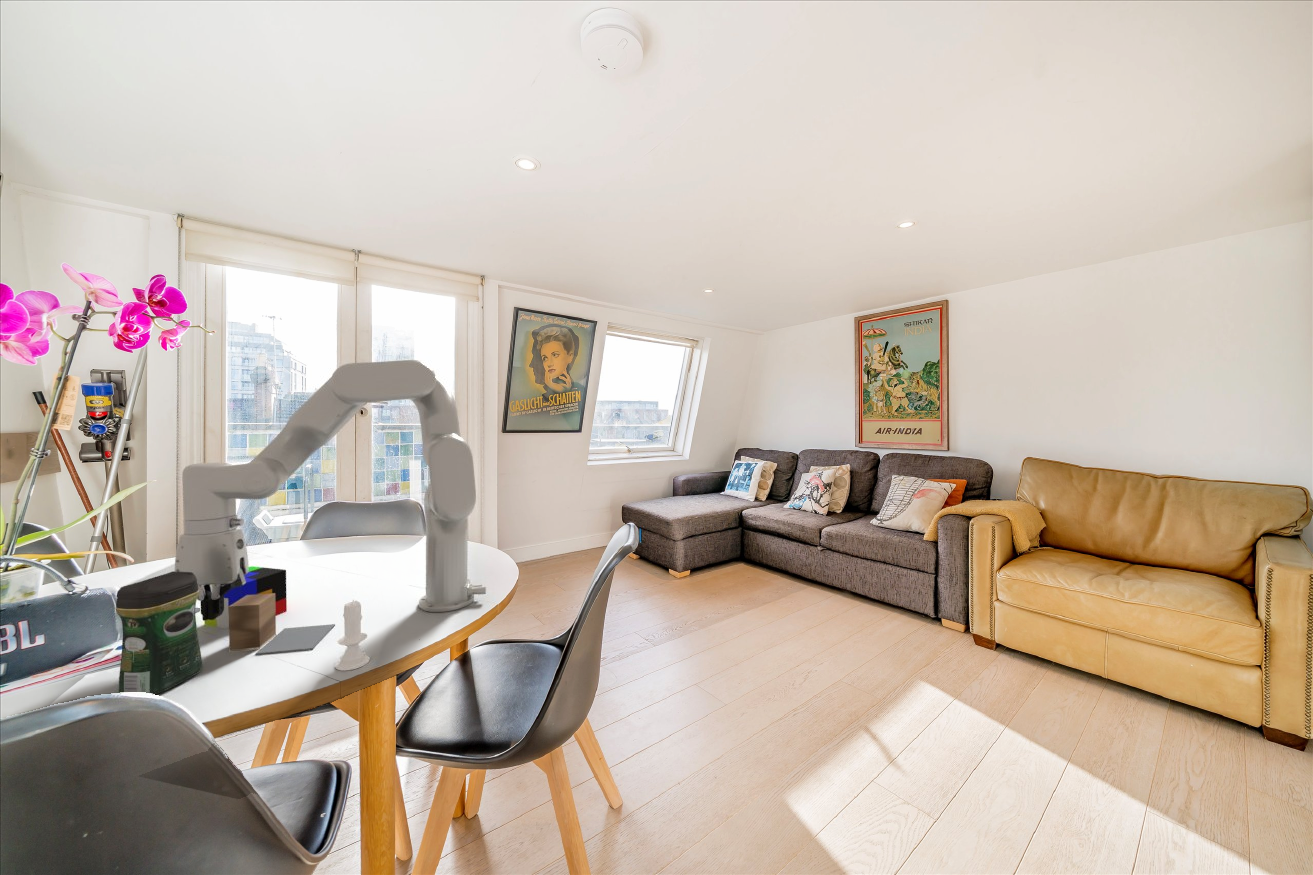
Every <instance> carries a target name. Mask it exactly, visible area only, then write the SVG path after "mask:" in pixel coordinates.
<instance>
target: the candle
mask: <svg viewBox="0 0 1313 875" xmlns="http://www.w3.org/2000/svg"><path fill="white" fill-rule="evenodd" d="M342 614H343V615H342V617H343V619H344V621H343V622H344V624H343V625H344V626H343V628H344V636H342V637H340V638H338V640H337V643H338V645H341V646H346V648H345V651H344V653H343V655H341V656H340V659H339V661H338V662H337V663H336V664H335V669H336V670H338V671H341V672H344V671H353V670H356V669H359V668H361V667H364V666H365V665H367V664H368V663H369V662H370V657H369V656H368V655H366V653H365V651H364V650H362V648H361V646H360V645H359V644H361V642H364V641H365V640H366V639H367V638H368V634H367V633H364V632H361V631H362V630H361V629H362V627H361V626H362V623H361V622H362V619H363V616H362V604H361V602H360V601H357V600H355V599H353V600H352V601H351V602H347V603H345V604H344V606H343V613H342Z"/></svg>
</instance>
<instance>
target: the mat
mask: <svg viewBox="0 0 1313 875" xmlns="http://www.w3.org/2000/svg"><path fill="white" fill-rule="evenodd" d="M335 626H336V624H335V623H334V624H320V625H311V626H310V625H308V626H307V625H306V626H298V627H297V626H296V627H284V628H283V629H282V630H280V632H278V634H277V633H276V636H275V637H273V638H272V639H271V640H270V641H269V642H268V643H266V644H265V645H264V646H263V647H262V648H261V649H258V650H257V652H255V656H258V655H269V654H278V653H279V654H281V653H290V652H300V651H311V650H314V649H315V648H316V646H317V645H318V644H320V642H322V640H323V639H324V638H325V637H326V636H327V635H328V633H329V632H330V631H332V629H334V627H335Z"/></svg>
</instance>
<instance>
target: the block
mask: <svg viewBox="0 0 1313 875" xmlns="http://www.w3.org/2000/svg"><path fill="white" fill-rule="evenodd" d="M276 617H277V616H276V609H275V593H272V594H257V595H246V596H245V597H243V598H242V599H240V600H238V601H237V602H235V603H234V604H232V605H230V606H229V628H228V641H229V643H228V646H229V648H228V649H229V653H231V652H243V651H244V652H245V651H254V650H260V649H261V648H262V647H264V646H265V645H266V644H267V643H268V642H269V641H271V640H272V639H273V638H274V637H275V636H276V635H277V628H276V627H277V623H276V622H277V621H276V619H277V618H276Z"/></svg>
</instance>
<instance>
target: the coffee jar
mask: <svg viewBox="0 0 1313 875" xmlns="http://www.w3.org/2000/svg"><path fill="white" fill-rule="evenodd" d="M198 589H199V588H198V583H197V578H196V576H195V575H194V574H193V573H192V572H175V570H173V571H170V572H167V573H164V574H160V575H158V576H154V577H151V578H147V579H144V580H141V581H138V582H135V583H131V584H127V585H124V586H121V587H120V588H119V589H118V590H117V592H116V602H115V603H116V604H115V611H116V613H117V616H118V617H119V618H120V620H121V626H122V639H121V640H122V642H121V643H122V645H121V658H120V667H119V673H118V692H119V693H120V692H146V693H153V694H152V695H156V694H160V693H162V692H165V691H167V690H170V689H171V688H173V687H176V686H177V685H179V684H181V683H183V682H185V681H187V680H188V679H190V678H191V677H193V676H196V674H198V673H199V672H200V671H201V670H202V667H203V661H202V659H203V658H202V653H201V652H202V651H201V647H200V641H199V634H198V626H197V619H196V618H197V617H196V607H197V601H198V600H197V597H198V594H199V590H198Z"/></svg>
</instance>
